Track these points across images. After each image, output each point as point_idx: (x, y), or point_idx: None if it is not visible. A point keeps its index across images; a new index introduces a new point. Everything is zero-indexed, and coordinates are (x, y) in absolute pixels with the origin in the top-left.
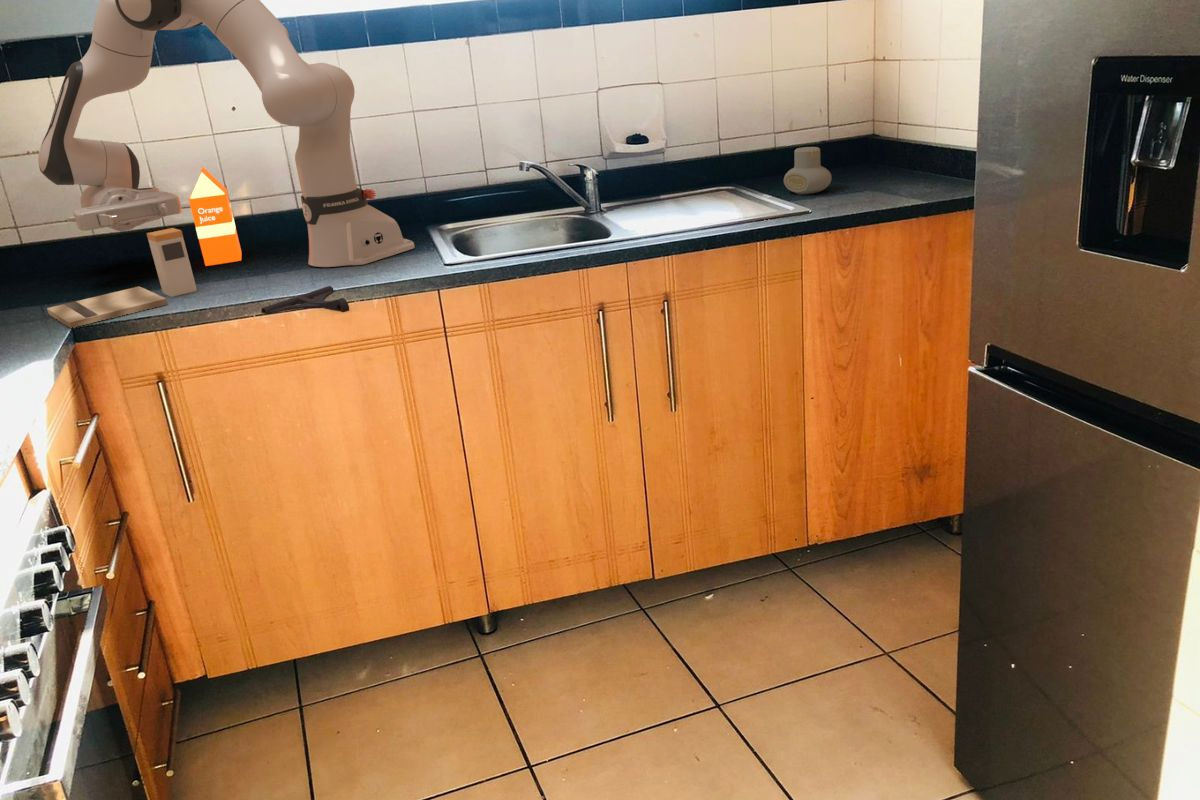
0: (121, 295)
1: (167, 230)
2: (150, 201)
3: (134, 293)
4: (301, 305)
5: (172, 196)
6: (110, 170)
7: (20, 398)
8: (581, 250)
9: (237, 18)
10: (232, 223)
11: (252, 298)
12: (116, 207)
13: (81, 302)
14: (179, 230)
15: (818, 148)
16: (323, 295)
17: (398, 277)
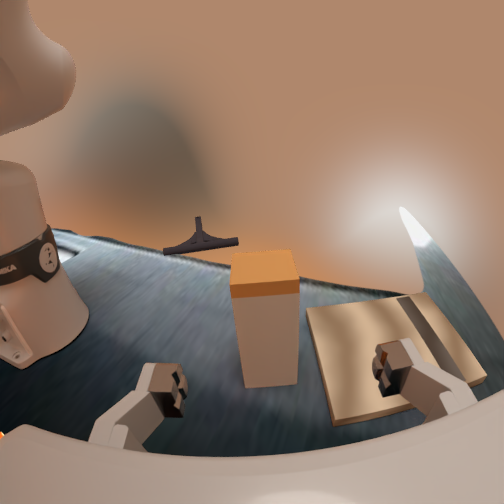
0: (372, 373)
1: (251, 271)
2: (143, 455)
3: (349, 369)
4: (209, 237)
5: (20, 435)
6: None
7: (406, 214)
8: None
9: None
10: (3, 434)
11: (217, 276)
12: (389, 436)
13: None
14: (234, 255)
15: None
16: (179, 245)
17: (113, 252)
